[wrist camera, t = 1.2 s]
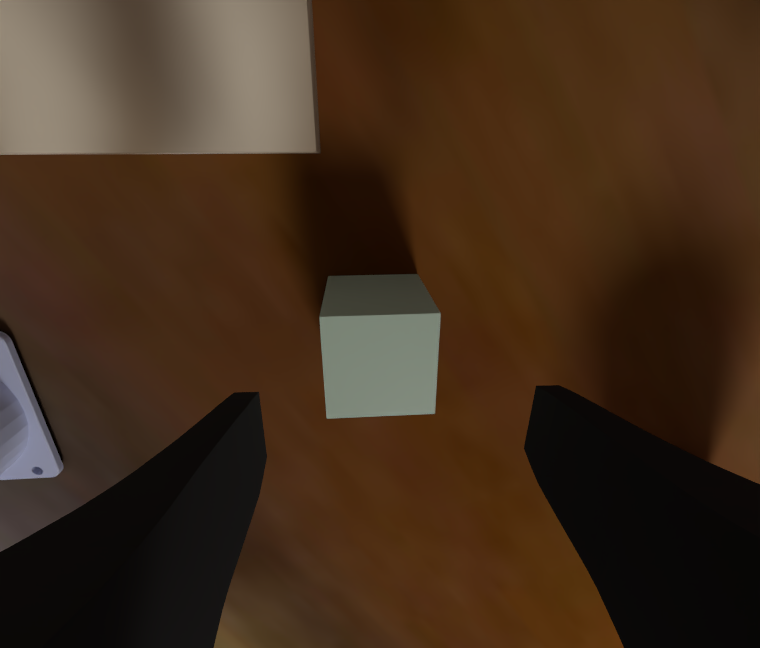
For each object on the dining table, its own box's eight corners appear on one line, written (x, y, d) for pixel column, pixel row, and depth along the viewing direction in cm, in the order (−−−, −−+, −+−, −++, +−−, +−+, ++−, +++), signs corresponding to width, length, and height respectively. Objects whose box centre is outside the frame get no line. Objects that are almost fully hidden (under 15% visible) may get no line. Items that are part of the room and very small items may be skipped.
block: (332, 355, 19) (326, 418, 14) (328, 275, 17) (319, 316, 13) (414, 353, 19) (435, 413, 14) (417, 273, 17) (440, 313, 13)
